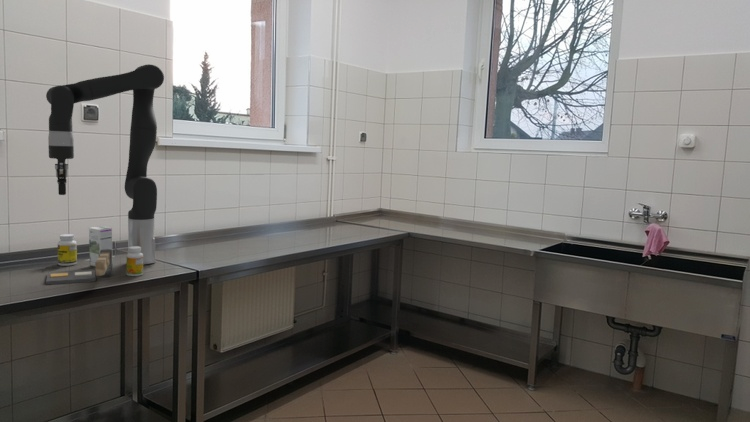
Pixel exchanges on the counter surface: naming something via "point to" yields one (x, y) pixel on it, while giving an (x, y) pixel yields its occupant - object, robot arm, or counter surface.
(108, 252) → the tan wooden bar
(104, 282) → the counter surface
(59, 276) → the label mat
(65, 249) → the pill bottle
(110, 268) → the pivot post
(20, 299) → the counter surface
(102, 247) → the syrup box
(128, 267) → the supplement bottle
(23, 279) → the counter surface
